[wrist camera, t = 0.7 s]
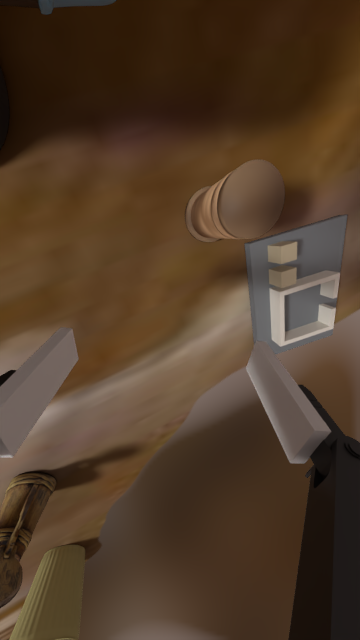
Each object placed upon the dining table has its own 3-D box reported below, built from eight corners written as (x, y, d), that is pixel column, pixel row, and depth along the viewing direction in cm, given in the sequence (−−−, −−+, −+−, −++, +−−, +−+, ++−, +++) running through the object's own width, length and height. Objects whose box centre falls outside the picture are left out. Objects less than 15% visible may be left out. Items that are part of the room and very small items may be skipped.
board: (244, 243, 29) (261, 244, 25) (338, 215, 30) (369, 212, 26) (255, 355, 38) (268, 369, 34) (325, 331, 39) (346, 342, 35)
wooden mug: (73, 463, 41) (29, 610, 25) (46, 498, 44) (-9, 650, 28) (29, 454, 38) (-56, 617, 21) (2, 492, 41) (-89, 662, 24)
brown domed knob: (179, 195, 25) (209, 163, 14) (226, 182, 25) (290, 141, 14) (190, 247, 28) (222, 253, 17) (232, 234, 28) (290, 233, 17)
